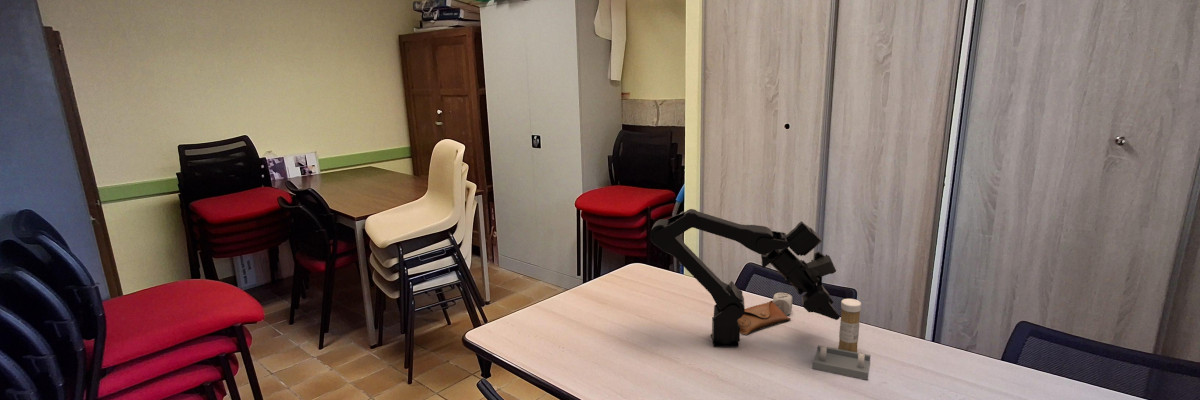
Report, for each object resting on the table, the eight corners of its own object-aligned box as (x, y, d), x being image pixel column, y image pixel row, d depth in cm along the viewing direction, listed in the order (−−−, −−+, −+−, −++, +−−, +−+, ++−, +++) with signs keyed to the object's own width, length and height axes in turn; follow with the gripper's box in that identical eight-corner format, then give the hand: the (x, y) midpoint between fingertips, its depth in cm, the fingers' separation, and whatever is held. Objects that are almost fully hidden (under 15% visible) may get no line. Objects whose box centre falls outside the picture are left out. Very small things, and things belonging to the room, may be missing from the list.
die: (772, 313, 165) (772, 298, 164) (774, 306, 169) (775, 291, 168) (790, 316, 163) (790, 300, 162) (792, 309, 167) (792, 293, 166)
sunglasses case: (746, 334, 151) (738, 310, 153) (730, 338, 157) (722, 315, 159) (793, 318, 160) (784, 295, 162) (776, 322, 166) (768, 300, 168)
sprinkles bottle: (848, 345, 145) (851, 296, 142) (861, 353, 141) (865, 303, 138) (833, 348, 144) (837, 299, 141) (847, 357, 139) (850, 306, 136)
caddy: (812, 368, 135) (812, 354, 134) (817, 351, 143) (818, 337, 142) (867, 380, 129) (868, 365, 128) (869, 361, 137) (871, 347, 136)
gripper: (821, 258, 129) (870, 306, 129) (810, 235, 147) (853, 277, 147) (784, 289, 133) (831, 335, 133) (778, 262, 151) (820, 303, 151)
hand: (835, 310), depth 141 cm, fingers open, 9 cm apart
